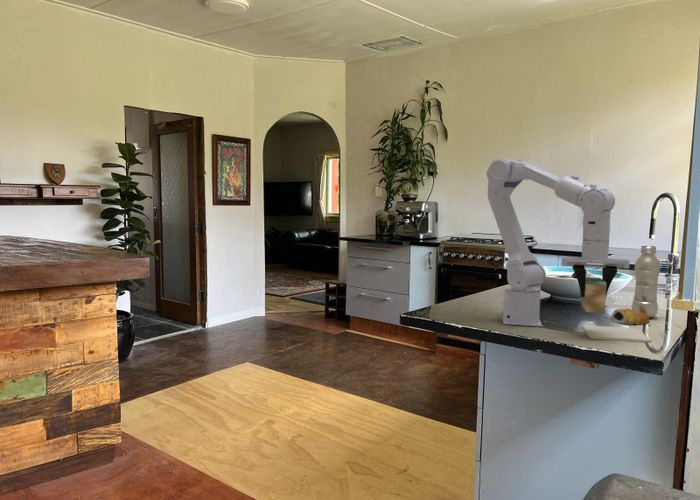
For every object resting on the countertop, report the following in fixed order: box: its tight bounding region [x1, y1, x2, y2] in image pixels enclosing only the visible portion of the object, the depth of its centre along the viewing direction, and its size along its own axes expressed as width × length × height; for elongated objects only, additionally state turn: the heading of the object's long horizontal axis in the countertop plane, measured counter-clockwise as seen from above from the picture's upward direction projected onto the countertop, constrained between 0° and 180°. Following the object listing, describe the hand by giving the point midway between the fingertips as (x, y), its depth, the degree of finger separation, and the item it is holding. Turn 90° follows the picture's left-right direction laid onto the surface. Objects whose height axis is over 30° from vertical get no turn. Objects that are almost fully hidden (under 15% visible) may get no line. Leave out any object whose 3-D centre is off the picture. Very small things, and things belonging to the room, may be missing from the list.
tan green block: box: [580, 276, 607, 314], centre depth 123 cm, size 4×8×7 cm, turn 164°
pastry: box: [610, 308, 650, 326], centre depth 139 cm, size 9×7×4 cm
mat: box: [581, 324, 652, 344], centre depth 126 cm, size 13×11×1 cm
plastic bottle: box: [631, 245, 662, 318], centre depth 144 cm, size 6×7×20 cm
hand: (592, 297), depth 124 cm, fingers closed on tan green block, 4 cm apart
